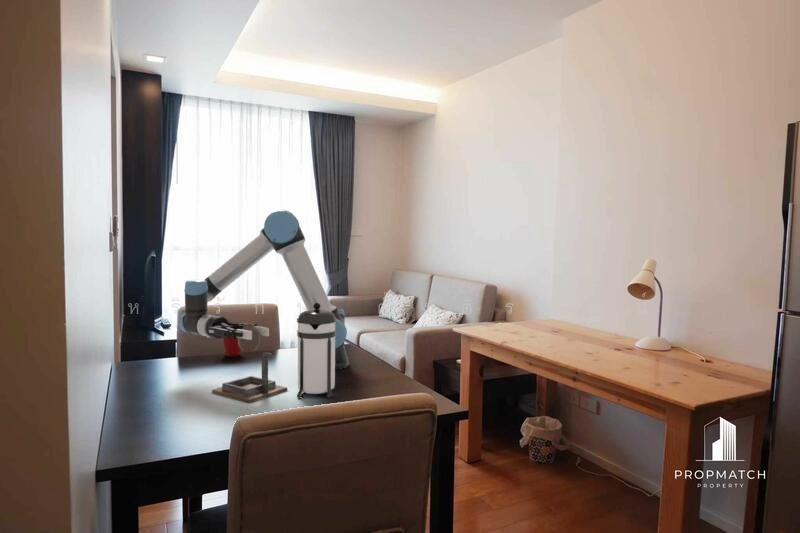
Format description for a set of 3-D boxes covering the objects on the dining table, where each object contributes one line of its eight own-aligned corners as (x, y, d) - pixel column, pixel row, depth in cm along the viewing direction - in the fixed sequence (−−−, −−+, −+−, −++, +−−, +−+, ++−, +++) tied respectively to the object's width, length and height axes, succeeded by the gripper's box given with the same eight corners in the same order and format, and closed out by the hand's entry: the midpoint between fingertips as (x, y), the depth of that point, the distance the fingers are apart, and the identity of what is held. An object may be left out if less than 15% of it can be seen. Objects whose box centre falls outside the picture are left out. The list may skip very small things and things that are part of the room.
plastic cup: (250, 352, 226) (250, 325, 225) (240, 358, 215) (240, 330, 215) (226, 351, 227) (226, 325, 226) (215, 357, 216) (215, 329, 216)
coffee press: (350, 393, 169) (351, 303, 167) (310, 403, 157) (311, 307, 156) (319, 382, 181) (320, 298, 179) (280, 391, 169) (280, 301, 168)
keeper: (250, 381, 180) (250, 342, 180) (288, 390, 170) (288, 349, 170) (212, 392, 167) (212, 350, 166) (250, 403, 157) (250, 358, 156)
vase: (240, 348, 171) (240, 322, 171) (261, 348, 172) (261, 322, 172) (235, 352, 164) (235, 325, 164) (257, 352, 165) (257, 325, 165)
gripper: (236, 333, 186) (281, 340, 174) (189, 341, 170) (235, 350, 157) (236, 312, 186) (281, 318, 173) (188, 319, 169) (235, 326, 157)
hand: (259, 333), depth 165 cm, fingers closed on vase, 6 cm apart
